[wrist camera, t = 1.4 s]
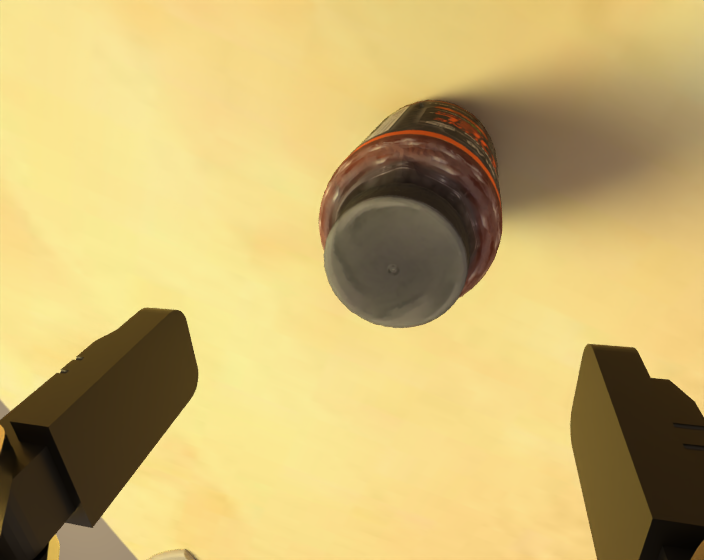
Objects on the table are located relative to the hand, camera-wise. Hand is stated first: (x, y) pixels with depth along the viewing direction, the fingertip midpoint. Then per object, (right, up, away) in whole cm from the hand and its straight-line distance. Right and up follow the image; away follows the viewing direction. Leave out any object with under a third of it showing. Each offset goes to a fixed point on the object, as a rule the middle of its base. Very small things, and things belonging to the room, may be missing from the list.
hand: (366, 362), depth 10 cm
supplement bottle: (+3, +7, +13) cm, 16 cm away
